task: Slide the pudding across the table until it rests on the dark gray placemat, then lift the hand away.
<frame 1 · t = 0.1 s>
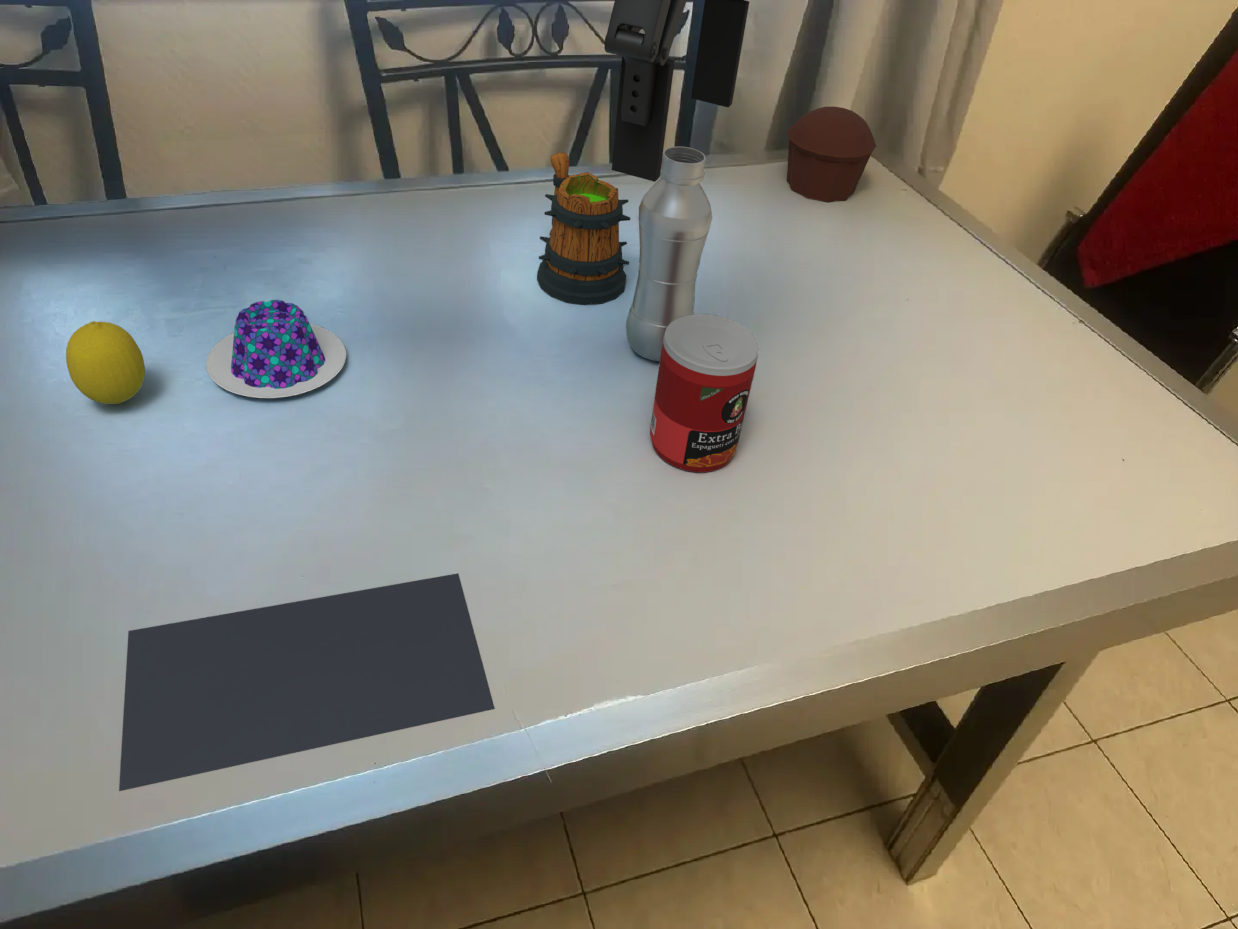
hand: (676, 135, 60), 29 cm above the table, tool pointing down, fingers open, 13 cm apart
dark gray placemat: (308, 670, 62), on the table
muffin: (819, 188, 126), on the table
pudding: (278, 366, 87), on the table
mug: (575, 276, 104), on the table
canned food: (691, 446, 83), on the table
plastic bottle: (656, 352, 94), on the table
lemon: (119, 404, 81), on the table
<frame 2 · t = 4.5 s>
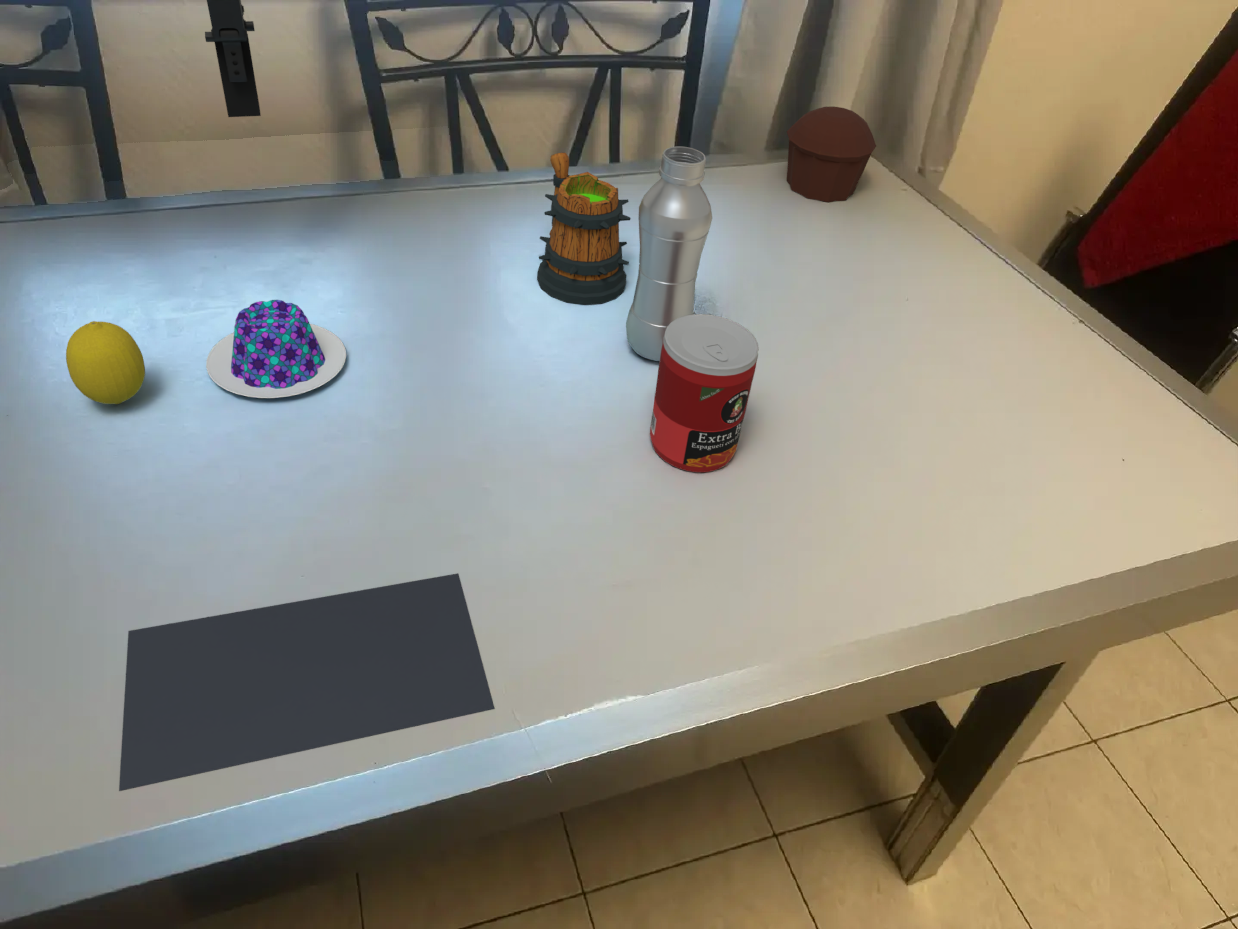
hand: (244, 112, 85), 18 cm above the table, tool pointing down, fingers closed
nothing on the table moved.
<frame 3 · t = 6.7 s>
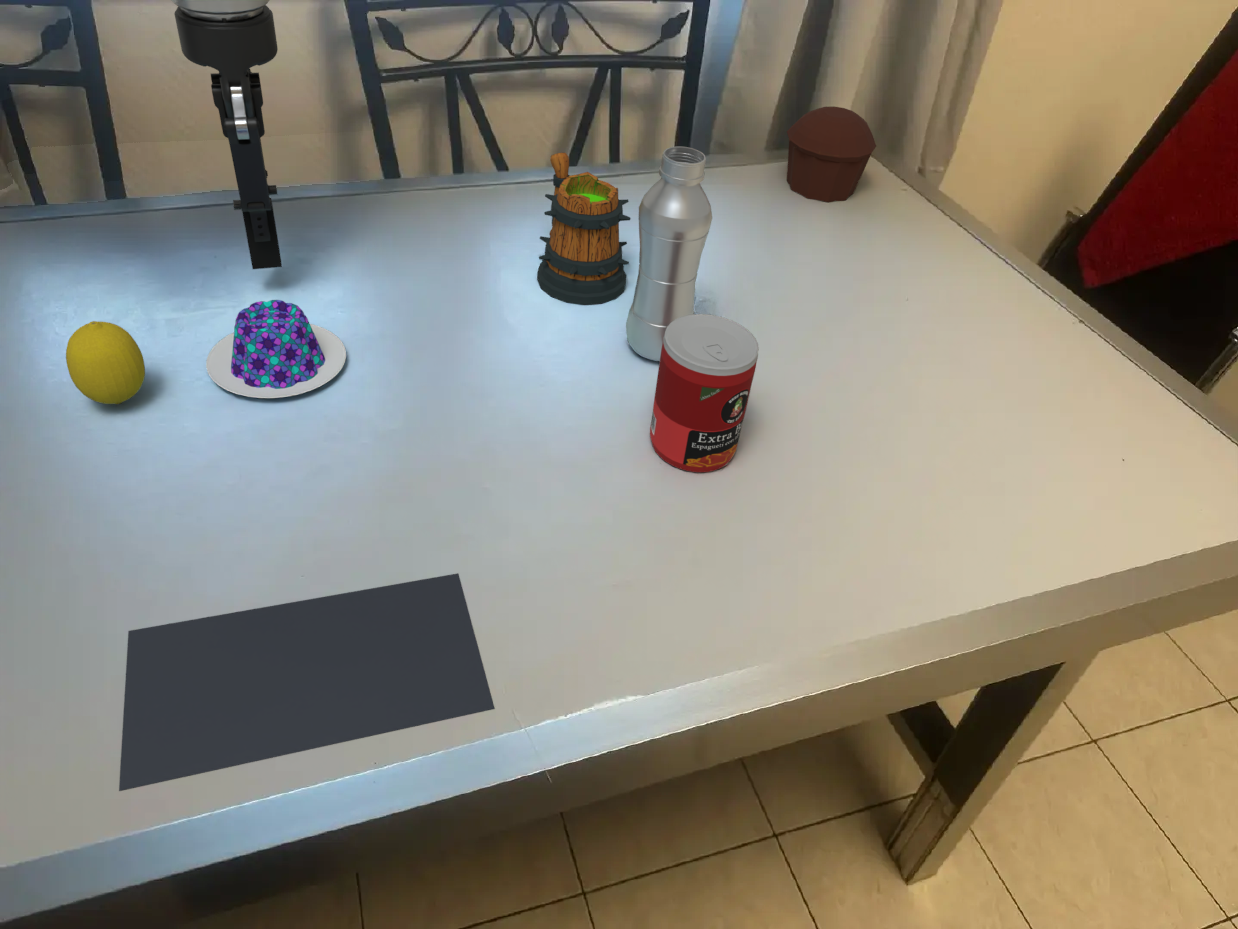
hand: (266, 264, 93), 3 cm above the table, tool pointing down, fingers closed
nothing on the table moved.
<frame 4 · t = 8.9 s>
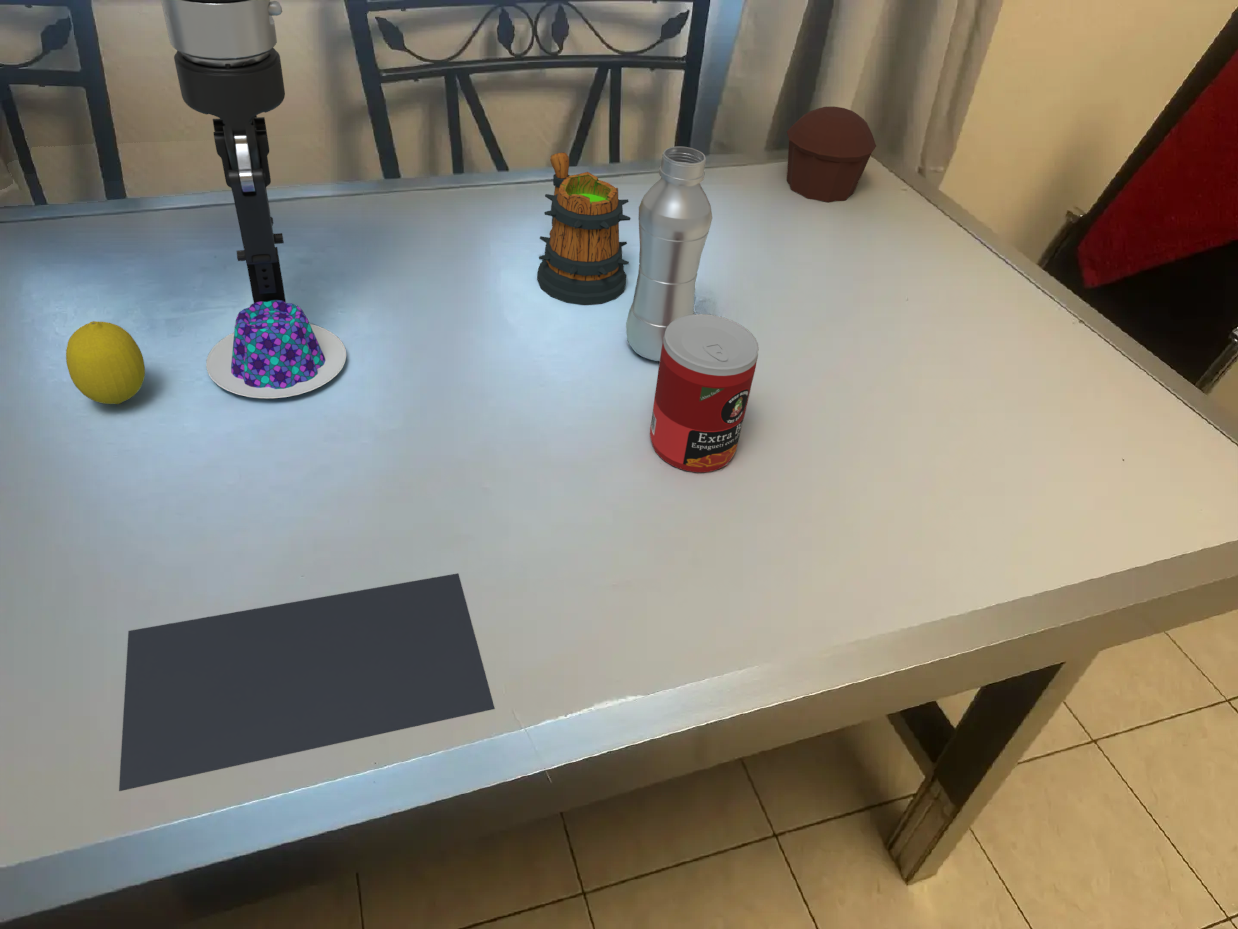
hand: (272, 315, 87), 3 cm above the table, tool pointing down, fingers closed
pudding: (278, 366, 87), on the table, touching gripper
everything else where it was.
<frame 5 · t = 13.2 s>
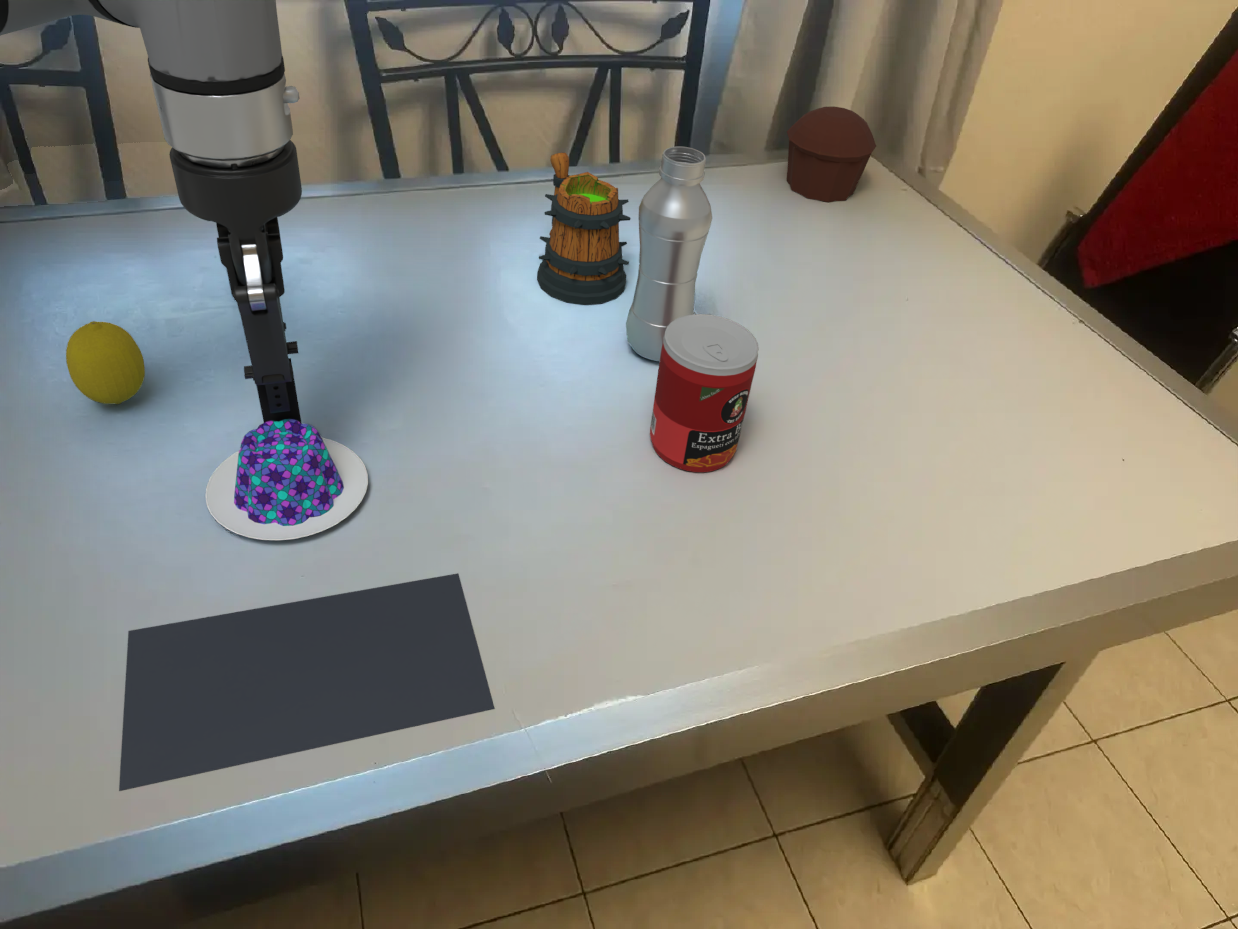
hand: (284, 432, 75), 3 cm above the table, tool pointing down, fingers closed
pudding: (290, 493, 74), on the table, touching gripper
everything else where it was.
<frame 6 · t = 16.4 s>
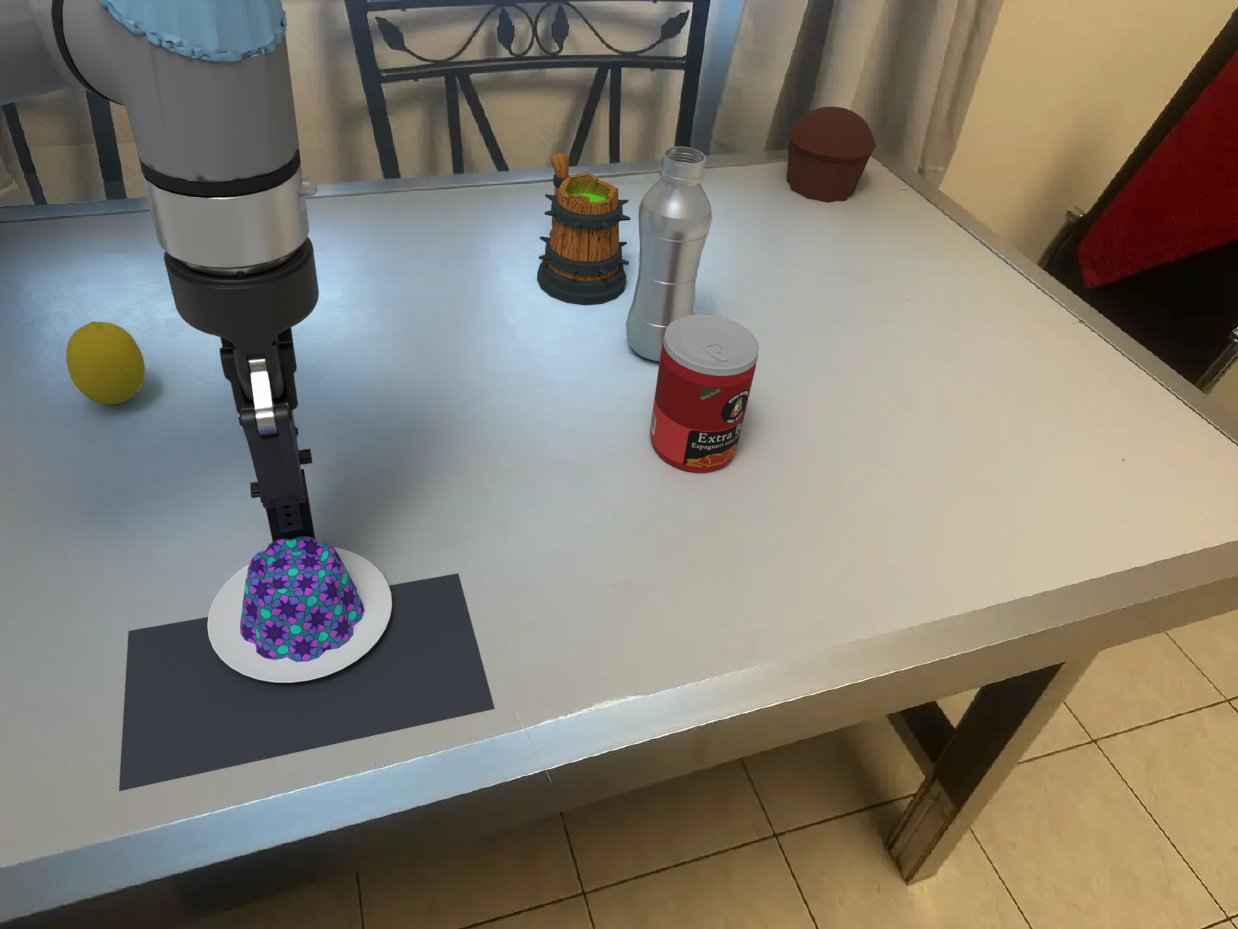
hand: (296, 547, 66), 3 cm above the table, tool pointing down, fingers closed
pudding: (303, 618, 66), on the table, touching gripper
everything else where it was.
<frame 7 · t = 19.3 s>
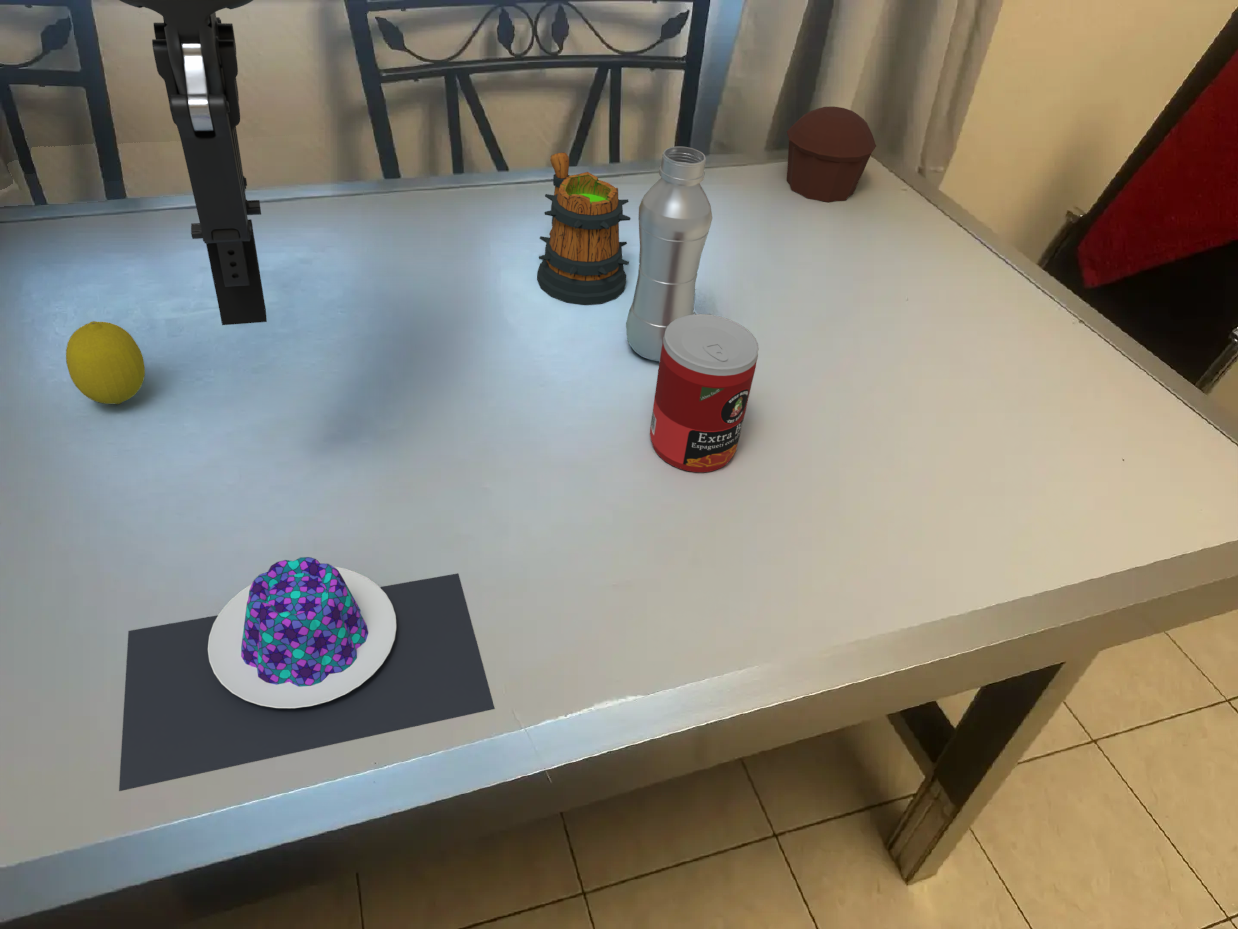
hand: (244, 316, 62), 17 cm above the table, tool pointing down, fingers closed
pudding: (305, 640, 64), on the table, touching dark gray placemat
everything else where it was.
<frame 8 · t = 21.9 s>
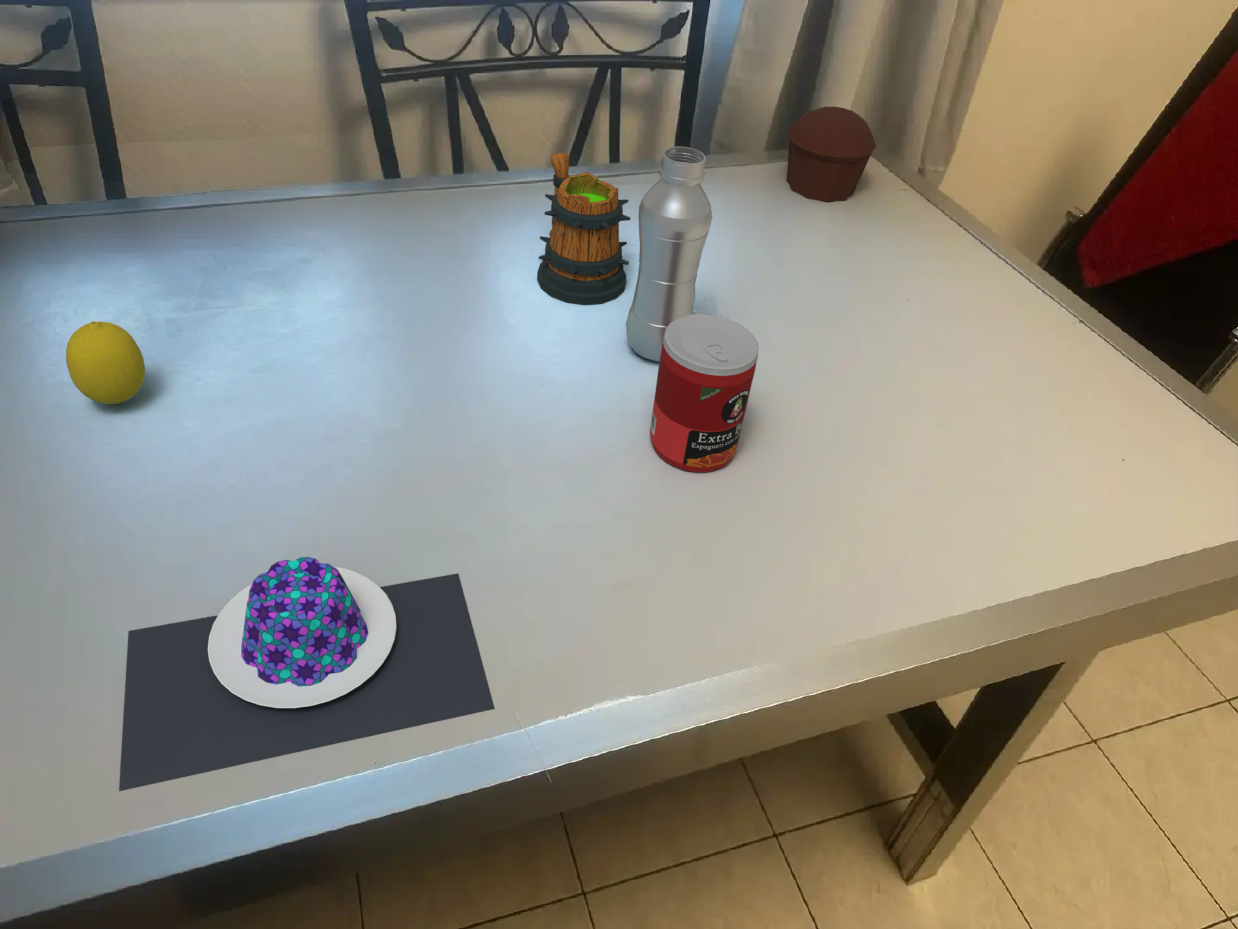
nothing on the table moved.
at the end: pudding 2.5 cm from the dark gray placemat (horizontally); pudding on the table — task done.
